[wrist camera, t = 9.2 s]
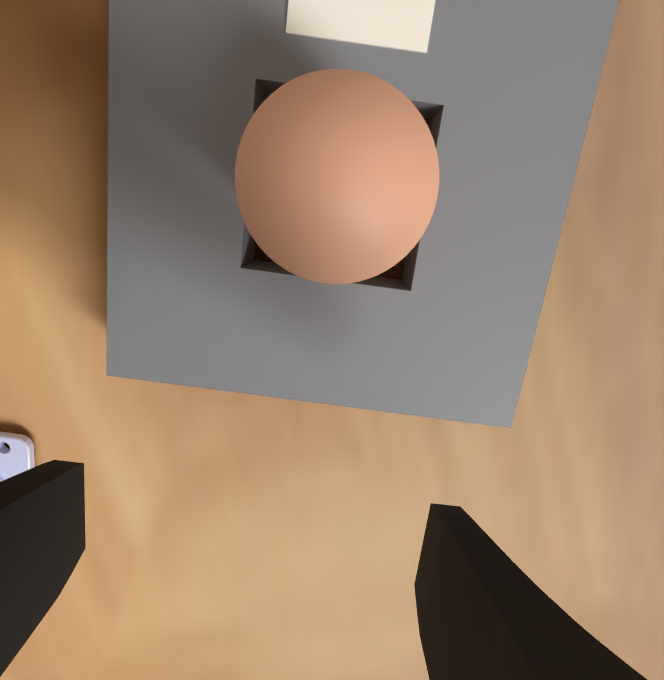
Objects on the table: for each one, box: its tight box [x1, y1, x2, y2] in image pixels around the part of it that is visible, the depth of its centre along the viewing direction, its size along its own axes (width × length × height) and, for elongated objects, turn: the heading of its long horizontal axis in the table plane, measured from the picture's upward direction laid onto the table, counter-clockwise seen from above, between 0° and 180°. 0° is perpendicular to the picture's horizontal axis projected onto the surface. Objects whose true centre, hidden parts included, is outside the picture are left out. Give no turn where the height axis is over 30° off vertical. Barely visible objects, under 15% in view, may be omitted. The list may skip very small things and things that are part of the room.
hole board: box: [106, 0, 620, 428], centre depth 16 cm, size 14×14×3 cm
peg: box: [235, 69, 439, 284], centre depth 13 cm, size 4×4×8 cm
